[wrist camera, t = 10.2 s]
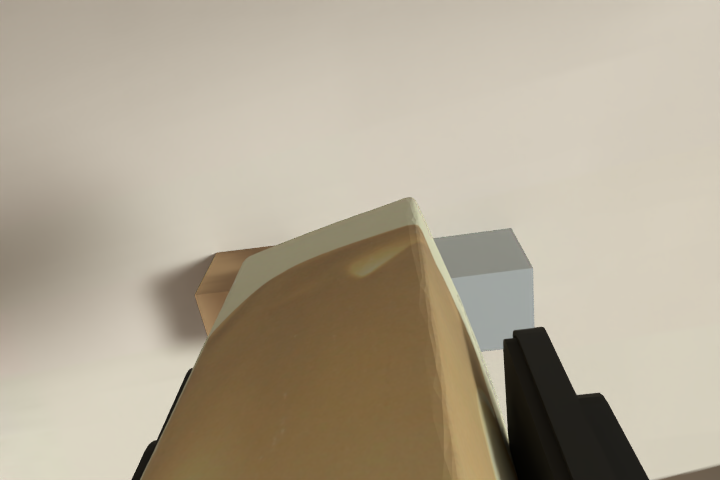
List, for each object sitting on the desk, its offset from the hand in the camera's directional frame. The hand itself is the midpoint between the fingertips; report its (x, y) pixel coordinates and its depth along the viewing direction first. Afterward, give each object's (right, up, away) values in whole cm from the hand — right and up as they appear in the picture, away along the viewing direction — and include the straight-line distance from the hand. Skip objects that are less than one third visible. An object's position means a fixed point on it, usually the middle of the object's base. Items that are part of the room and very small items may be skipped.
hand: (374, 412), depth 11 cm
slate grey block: (+7, +2, +24) cm, 25 cm away
